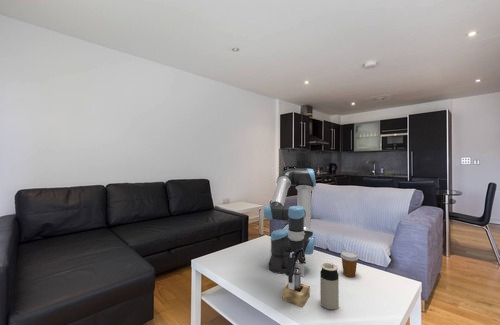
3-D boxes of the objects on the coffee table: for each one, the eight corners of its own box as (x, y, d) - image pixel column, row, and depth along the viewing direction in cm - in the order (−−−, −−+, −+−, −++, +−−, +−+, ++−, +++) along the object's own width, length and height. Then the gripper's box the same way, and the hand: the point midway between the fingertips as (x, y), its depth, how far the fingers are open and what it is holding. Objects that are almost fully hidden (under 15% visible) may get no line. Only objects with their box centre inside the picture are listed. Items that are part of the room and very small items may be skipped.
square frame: (282, 299, 111) (282, 289, 111) (290, 290, 119) (290, 280, 119) (302, 306, 105) (302, 296, 105) (309, 295, 114) (309, 285, 114)
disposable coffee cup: (360, 279, 129) (360, 258, 129) (342, 277, 131) (342, 256, 131) (356, 271, 139) (355, 251, 139) (339, 270, 141) (339, 250, 140)
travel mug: (323, 310, 103) (323, 270, 103) (318, 299, 111) (318, 262, 111) (341, 310, 103) (341, 270, 103) (334, 299, 111) (334, 262, 111)
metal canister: (291, 298, 112) (290, 269, 112) (294, 294, 115) (294, 266, 115) (299, 301, 110) (299, 272, 109) (302, 297, 113) (302, 268, 113)
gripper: (294, 248, 100) (294, 297, 100) (311, 233, 121) (311, 273, 121) (278, 245, 104) (278, 292, 104) (297, 230, 125) (298, 270, 125)
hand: (296, 282), depth 112 cm, fingers open, 13 cm apart
